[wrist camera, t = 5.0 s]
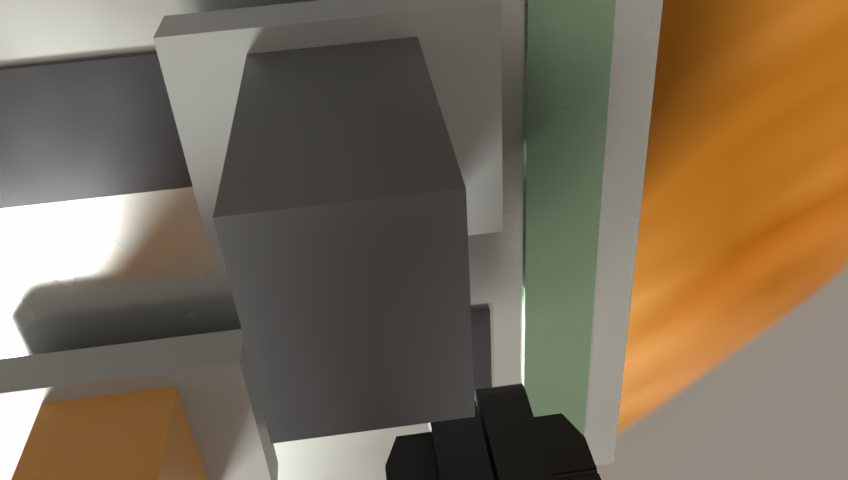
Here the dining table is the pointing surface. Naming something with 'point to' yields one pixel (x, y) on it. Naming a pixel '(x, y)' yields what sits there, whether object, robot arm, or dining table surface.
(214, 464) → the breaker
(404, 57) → the breaker mid
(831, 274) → the dining table surface
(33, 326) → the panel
